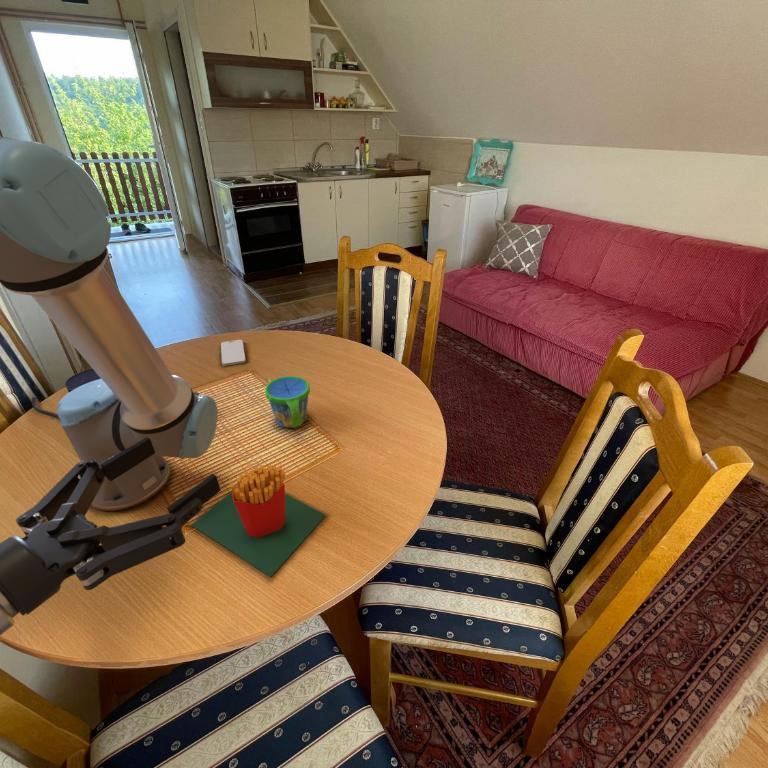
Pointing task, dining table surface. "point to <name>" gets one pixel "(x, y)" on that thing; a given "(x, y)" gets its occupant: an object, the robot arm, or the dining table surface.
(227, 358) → the smartphone
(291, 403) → the snack cup
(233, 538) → the green cloth
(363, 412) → the dining table surface
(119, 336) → the robot arm
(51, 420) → the dining table surface
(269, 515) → the french fries
